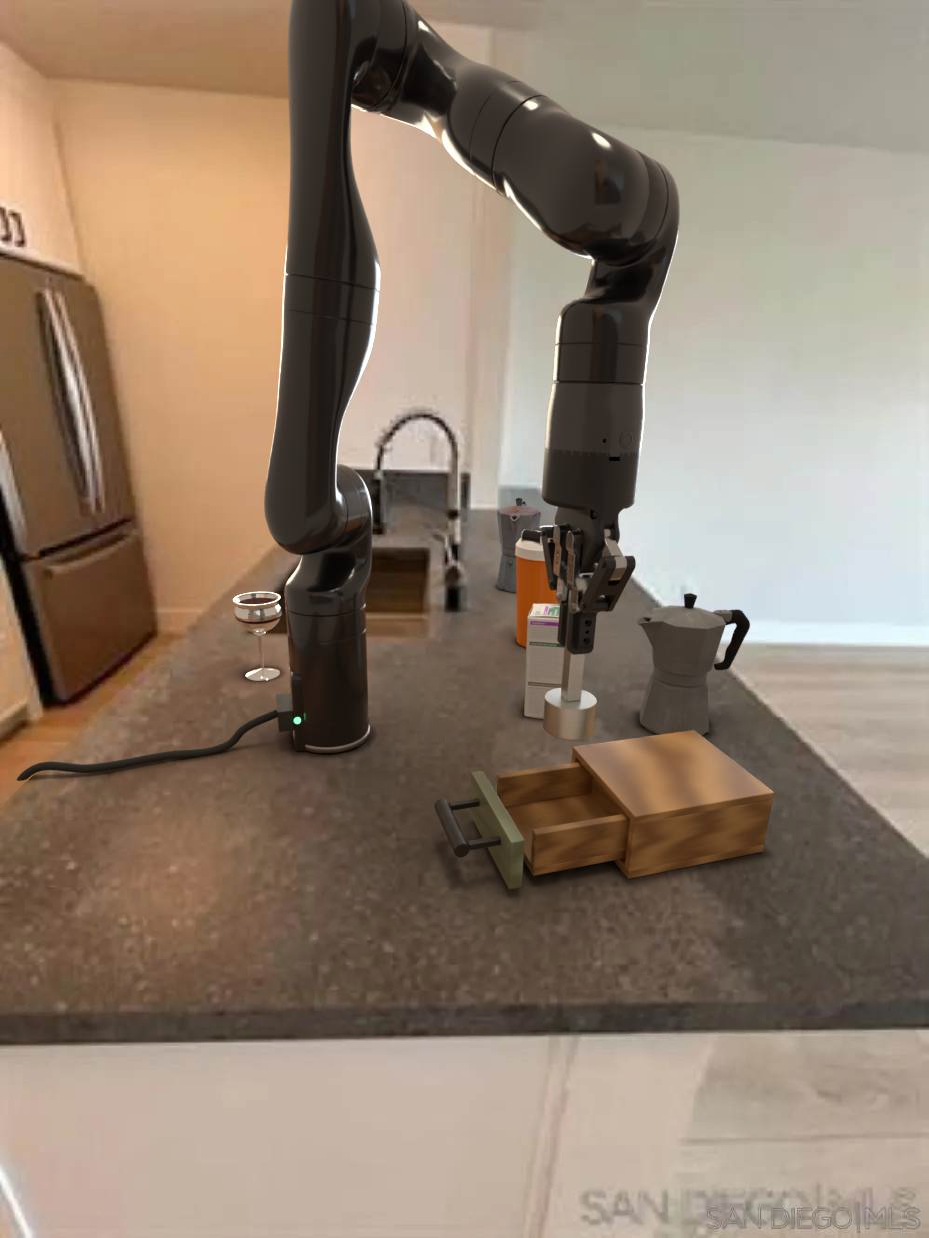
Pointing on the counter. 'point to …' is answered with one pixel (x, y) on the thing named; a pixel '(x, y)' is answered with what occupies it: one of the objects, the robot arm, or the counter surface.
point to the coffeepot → (685, 663)
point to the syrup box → (542, 657)
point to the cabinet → (679, 800)
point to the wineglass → (258, 623)
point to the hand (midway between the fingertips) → (574, 647)
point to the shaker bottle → (531, 579)
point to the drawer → (539, 821)
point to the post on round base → (570, 699)
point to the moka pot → (513, 539)
